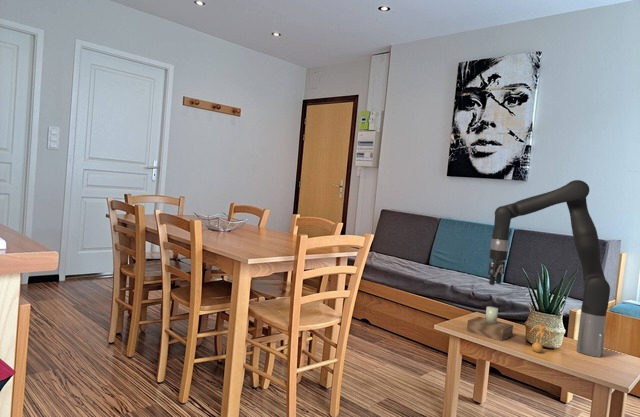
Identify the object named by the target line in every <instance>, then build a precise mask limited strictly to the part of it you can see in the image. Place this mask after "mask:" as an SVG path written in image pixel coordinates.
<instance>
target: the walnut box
mask: <svg viewBox="0 0 640 417" xmlns="http://www.w3.org/2000/svg"><path fill="white" fill-rule="evenodd" d="M466 326H467V327H466V332H469V333H472V334H476V335H479V336H483V337H487V338H489V339H493V340H496V341H501V342H503V341H505V340H506V339H508V338H510V337H513V330H514V324H510V323H506V322H502V321H499V320H497V323H496V324H489V323H486V322H485V317H483V316H477V317H473V318H471V319H468V320H467V325H466Z"/></svg>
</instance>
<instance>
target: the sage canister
mask: <svg viewBox="0 0 640 417" xmlns="http://www.w3.org/2000/svg"><path fill="white" fill-rule="evenodd" d="M485 310H486V311H485V317H484V318H485V322H486V323H489V324H496V323H497V321H498V316H499V315H498V313H499V308H498V307H495V306H490V305H489V306H488V305H487V306H486V308H485Z"/></svg>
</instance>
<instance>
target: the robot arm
mask: <svg viewBox="0 0 640 417" xmlns="http://www.w3.org/2000/svg"><path fill="white" fill-rule="evenodd" d="M589 194H590V186H589V185H588V184H587V182H585V181H584V180H579V179H575V180H571V181H569V182H567V183H566V184H565V185H563V186H561V187H559V188H555V189H553V190H551V191H548V192H545V193H544V192H543V193H540V194H537V195H533V196H529V197H527V198H523V199H520V200H518V201H515V202H513V203H510V204H505V205H501V206H498V207H497V208H496V209H495V211H494V224H493V225H494V226H493V228H492V236H491V242H490V246H489V259H491V260H492V261H489V263H488V264H489V265H488V271H487V272H488V273H487V275H488V277H489V280H488V283H489V284H488V285H490V286H494V285H495V283H496V284H499V285H500V284H502V276H503V275H504V274H505V266H506V261H507V260H508V252H509V237H510V226H511V223H512V222H511V221H512V219H514V218H517V217H522V216H526V215H530V214H533V213H536V212H539V211H542V210H544V209H547V208H550V207H552V206H555V205H560V204H563V203H566V206H567V208H568V212H569V216H570V217H569V218H570V225H571V226H570V227H571V232H572V237H573V242H574V246H575V249H576V253H577V256H578V258H579V261H580V264H581V269H582V275H583V276H582V277H583V279H582V280H583V296H582V297H583V298H582V304H581V308H580V309H581V310H580V317H579V318H580V319H579V323H578V324H579V326H578V331H577V332H578V333H577V341H576V342H577V343H576V351H577V352H579V353H580V354H582V355H586V356H590V357H591V356H592V357H597V358H601V356H603V352H604V345H605V344H604V343H605V336H606V335H605V327H606V319H607V312H608V308H609V302H610V294H611V286H610V284H609V282H608V280H607V279H606V276H605V274H604V270H603V268H602V267H603V266H602V264H601V246H600V241H599V235H598V231H597V228H596V226H595V223H594V221H593V219H592V216H591V214H590V213H589V209H588V204H587V197H588V195H589Z"/></svg>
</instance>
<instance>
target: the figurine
mask: <svg viewBox="0 0 640 417" xmlns="http://www.w3.org/2000/svg"><path fill="white" fill-rule="evenodd" d="M535 328H538V329H539V330H537V332H536V333H535V334H536V335H535V336H536V341H535V342H534V343H532V345H531V350H532V351H533V352H535V353H541V352H542V351H543V349H544V348H543V345H542V341H543V338H544V335H545V332H544V331H545V329H546V330H547V332H548V334H549V338H551V337H552V335H551V330H550V328H548V327H547V326H546V325H545V324H544V323H542V322H541V323H540V324H536V325H534V326H533V327H531V329H530V330H529V333H531V332H532V331H533V330H534V329H535ZM539 336H540V340H539ZM538 341H539V342H538Z"/></svg>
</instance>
